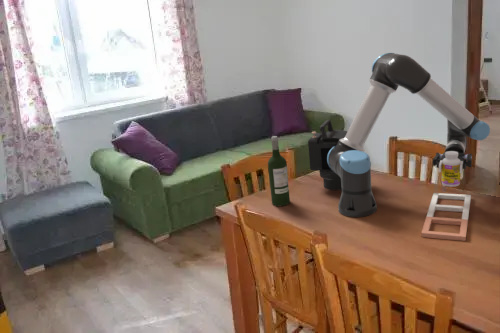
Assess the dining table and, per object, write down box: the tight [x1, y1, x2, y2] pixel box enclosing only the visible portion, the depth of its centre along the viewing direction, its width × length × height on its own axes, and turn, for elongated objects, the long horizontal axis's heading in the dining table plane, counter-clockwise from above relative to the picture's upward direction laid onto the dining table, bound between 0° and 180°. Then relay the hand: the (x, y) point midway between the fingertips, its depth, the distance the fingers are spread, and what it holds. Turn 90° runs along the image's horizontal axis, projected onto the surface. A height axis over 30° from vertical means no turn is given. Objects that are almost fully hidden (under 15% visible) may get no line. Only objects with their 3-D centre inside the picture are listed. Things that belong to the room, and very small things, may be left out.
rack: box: [421, 192, 472, 242], centre depth 181 cm, size 38×14×2 cm, turn 154°
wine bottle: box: [267, 135, 291, 207], centre depth 208 cm, size 8×8×30 cm
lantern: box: [307, 119, 348, 191], centre depth 222 cm, size 15×18×30 cm
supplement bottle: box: [441, 151, 461, 188], centre depth 187 cm, size 7×7×13 cm
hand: (450, 169), depth 183 cm, fingers closed on supplement bottle, 7 cm apart
